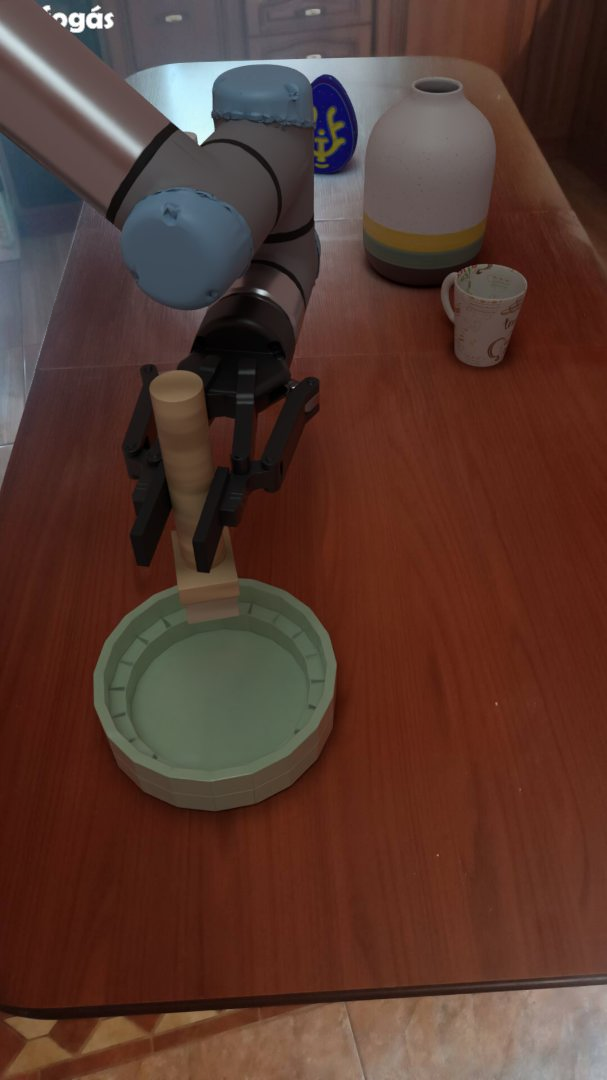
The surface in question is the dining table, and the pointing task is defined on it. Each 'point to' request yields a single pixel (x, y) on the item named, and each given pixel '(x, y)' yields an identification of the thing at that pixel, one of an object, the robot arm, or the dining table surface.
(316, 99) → the ornament
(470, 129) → the vase
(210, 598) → the brush
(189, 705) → the bowl
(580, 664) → the dining table surface
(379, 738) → the dining table surface
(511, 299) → the mug
